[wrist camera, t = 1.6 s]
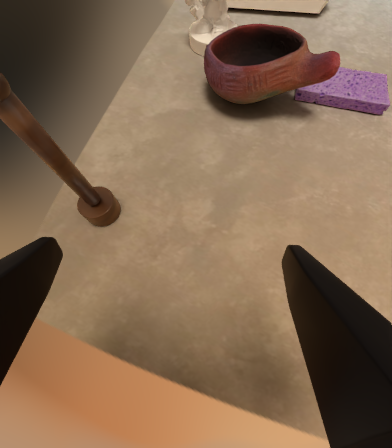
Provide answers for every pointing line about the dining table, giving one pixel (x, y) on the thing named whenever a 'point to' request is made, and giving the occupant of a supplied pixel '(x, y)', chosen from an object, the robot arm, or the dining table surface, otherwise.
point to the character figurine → (208, 22)
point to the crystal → (280, 5)
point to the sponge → (350, 91)
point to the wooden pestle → (57, 159)
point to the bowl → (263, 63)
